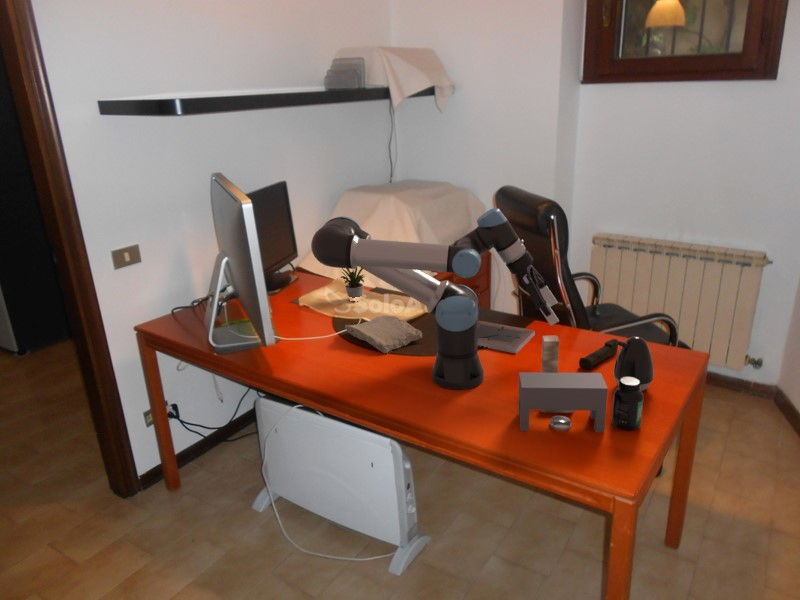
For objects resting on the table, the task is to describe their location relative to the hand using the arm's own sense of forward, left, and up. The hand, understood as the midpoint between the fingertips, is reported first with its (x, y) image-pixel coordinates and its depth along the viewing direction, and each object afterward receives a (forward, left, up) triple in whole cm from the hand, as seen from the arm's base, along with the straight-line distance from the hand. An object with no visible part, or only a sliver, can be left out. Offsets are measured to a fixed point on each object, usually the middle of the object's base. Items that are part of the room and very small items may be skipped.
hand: (554, 313), depth 179 cm
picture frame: (-17, +17, -16) cm, 29 cm away
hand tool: (+14, +1, -16) cm, 21 cm away
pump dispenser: (+19, -17, -15) cm, 30 cm away
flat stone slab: (-56, +17, -16) cm, 60 cm away
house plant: (-73, +55, -15) cm, 93 cm away
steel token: (-3, -37, -16) cm, 41 cm away
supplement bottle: (+13, -36, -15) cm, 42 cm away
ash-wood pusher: (-3, -22, -15) cm, 27 cm away
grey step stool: (-3, -36, -15) cm, 40 cm away
